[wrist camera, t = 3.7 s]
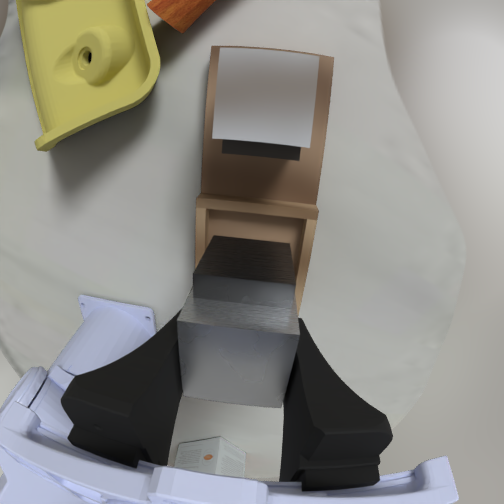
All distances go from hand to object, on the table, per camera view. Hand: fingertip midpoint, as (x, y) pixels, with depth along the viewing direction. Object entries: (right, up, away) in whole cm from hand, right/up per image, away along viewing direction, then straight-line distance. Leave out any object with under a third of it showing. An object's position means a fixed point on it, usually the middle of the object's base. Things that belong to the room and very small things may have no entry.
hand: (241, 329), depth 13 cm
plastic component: (-12, +21, +1) cm, 25 cm away
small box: (-5, -25, +22) cm, 34 cm away
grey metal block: (0, +2, +2) cm, 3 cm away
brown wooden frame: (+1, +8, +6) cm, 10 cm away
